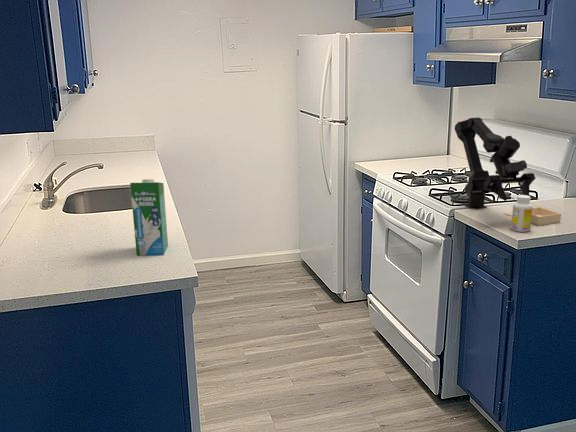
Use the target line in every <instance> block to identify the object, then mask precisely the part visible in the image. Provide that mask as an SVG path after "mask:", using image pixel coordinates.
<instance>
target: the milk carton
mask: <svg viewBox="0 0 576 432" xmlns="http://www.w3.org/2000/svg"><path fill="white" fill-rule="evenodd" d="M129 185H130V194H131V196H130V197H131V209H132V218H133V229H134V239H135V250H136V256H164V255H165V253H166V251H167V249H168V247H169V242H168V241H169V240H168V239H169V238H168V228H167V214H166V199H165V186H164V182H158V181H157V182H155V179H153V178H145V179H142V180H141V182H131V183H130V184H129Z"/></svg>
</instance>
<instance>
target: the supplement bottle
mask: <svg viewBox="0 0 576 432" xmlns="http://www.w3.org/2000/svg"><path fill="white" fill-rule="evenodd" d="M530 201H531V196H530V195H529V196H527V195H523V194H519V195H516V201H515V202H514V203H513V205H512V211H511V212H512V216H511V225H510V226H511V230H512V231H514V232H519V233H526V232H527V233H528V232H529V231H531V226H532V224H531V217H532V208H533V204H532V203H531V202H530Z"/></svg>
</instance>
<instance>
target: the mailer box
mask: <svg viewBox="0 0 576 432" xmlns="http://www.w3.org/2000/svg"><path fill="white" fill-rule="evenodd" d="M512 212H513V211H510V212H508V211H507V212H504V213H503V214H504V215H505V216H510V217H512ZM561 218H562V213H560V212H556V211H553V210H550V209H548V208H544V207H542V206H541V207H540V206H535V207H532V217H531V225H534V226H537V227H539V226H548V225H553V224H558V223H561Z"/></svg>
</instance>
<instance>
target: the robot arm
mask: <svg viewBox="0 0 576 432" xmlns="http://www.w3.org/2000/svg"><path fill="white" fill-rule="evenodd" d="M454 125H455V126H454V131H455V133H456V136H457V138H458V140H460V141H461V142H462V144H463V147H464V152H465V157H466V159H467V163H468V167H469V171H470V174H469V177H468V179H467V180H468V182H467V183H466V185H465V186H464V193H466V194H468V197H467V198H468V199H467V204H464V206H465V207H467V208H470V209H472V210H478V209H485V208H487V206H486V205H485V201H486V200H485V194H489V193H490V191H491V192H493V193H494V194H495V195H497V196H498V197H499V198H500V199H501V200H502V201H504V202H507V201H508V198H507V196H506V192H505V190H504V187H503V184H515V183H516V184H518V186H519V189H520V191H521V193H522V195H527V196H530V187H531V185H532V183H533V182H534V181H535V180H536V176H535V174H534V173H533V172H525V173H522V174H521V176H519V175H520V172H522V171H525V169H527V168H528V165H527V162H526V160H523V159H522V160H519V161H513V162H511V160H510V159H511V158H513V157H514V155H516V153H517V151H518V150H519V149H520V146H521V144H520V143H521V142H519V141H518V140H517V139H516V138H514V137H512V135H506V136H505V138H504V137H502V136H501V135H499V134H496V133H494V132H493V131H492V130H491V128H489V127H488V126H487V125H486V124H485V122H484V121H483V119H482V117H470V118H468V119H465V120H462V121H458V122H457V123H456V124H454ZM476 135H477V136H478V137H479V139H480V140H482V142H483V144H482V147H483V148H484V150H485V152H487V153H488V154H490V153H493V154H492V155H491V157H490V159H489V163H493V164H494V167H495V171H494V172H495V173H494V174H492V175H490V173H489V171H488V170H484V169H483V166H482V162H481V157H480V154H479V151H478V147H477V143H476V139H475V138H476Z"/></svg>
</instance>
